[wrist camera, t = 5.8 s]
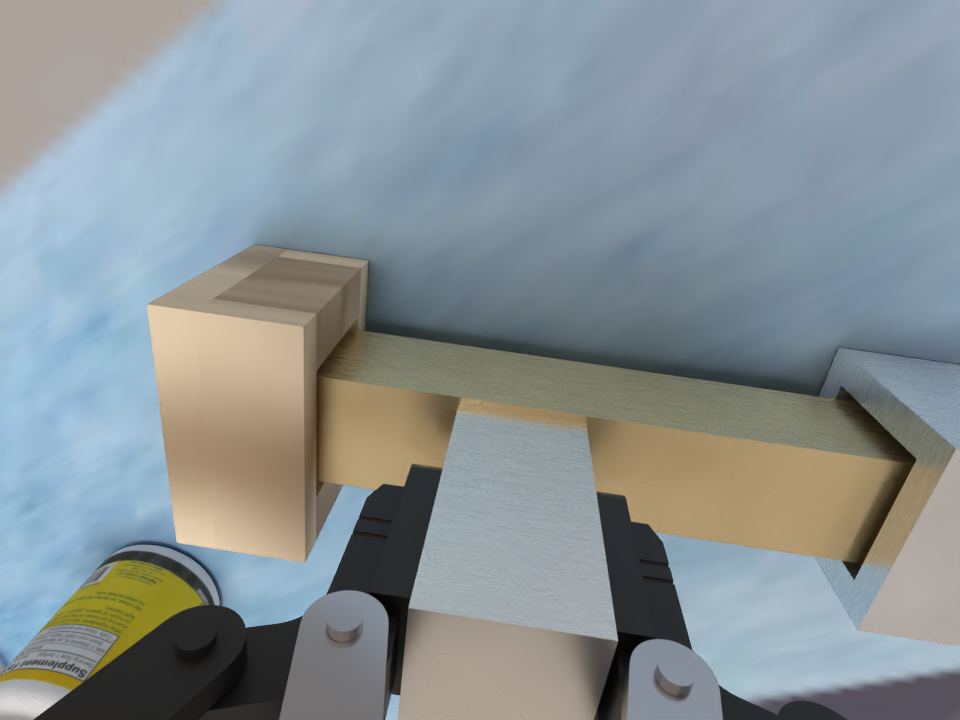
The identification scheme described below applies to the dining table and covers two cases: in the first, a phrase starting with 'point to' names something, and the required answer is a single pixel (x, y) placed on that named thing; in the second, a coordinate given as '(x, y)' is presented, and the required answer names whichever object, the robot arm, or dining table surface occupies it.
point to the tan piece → (576, 499)
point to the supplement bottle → (102, 624)
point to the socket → (251, 395)
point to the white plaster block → (907, 499)
